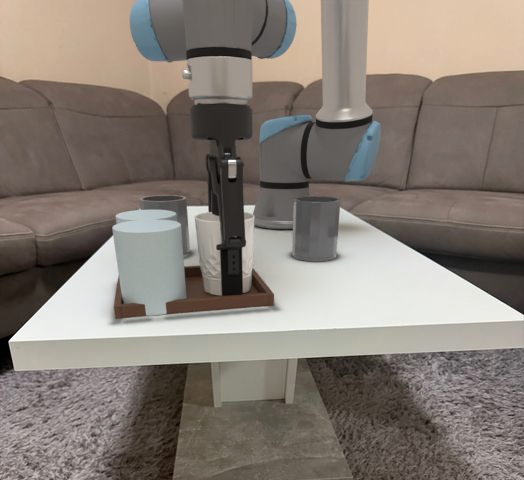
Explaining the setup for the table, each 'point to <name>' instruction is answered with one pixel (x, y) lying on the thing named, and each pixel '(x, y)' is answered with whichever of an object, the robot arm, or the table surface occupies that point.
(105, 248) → the table surface
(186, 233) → the grey cup
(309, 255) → the grey cup
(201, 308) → the tray
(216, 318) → the table surface
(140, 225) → the pale blue cylinder
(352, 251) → the table surface
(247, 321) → the table surface
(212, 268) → the white cup
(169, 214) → the blue round block
